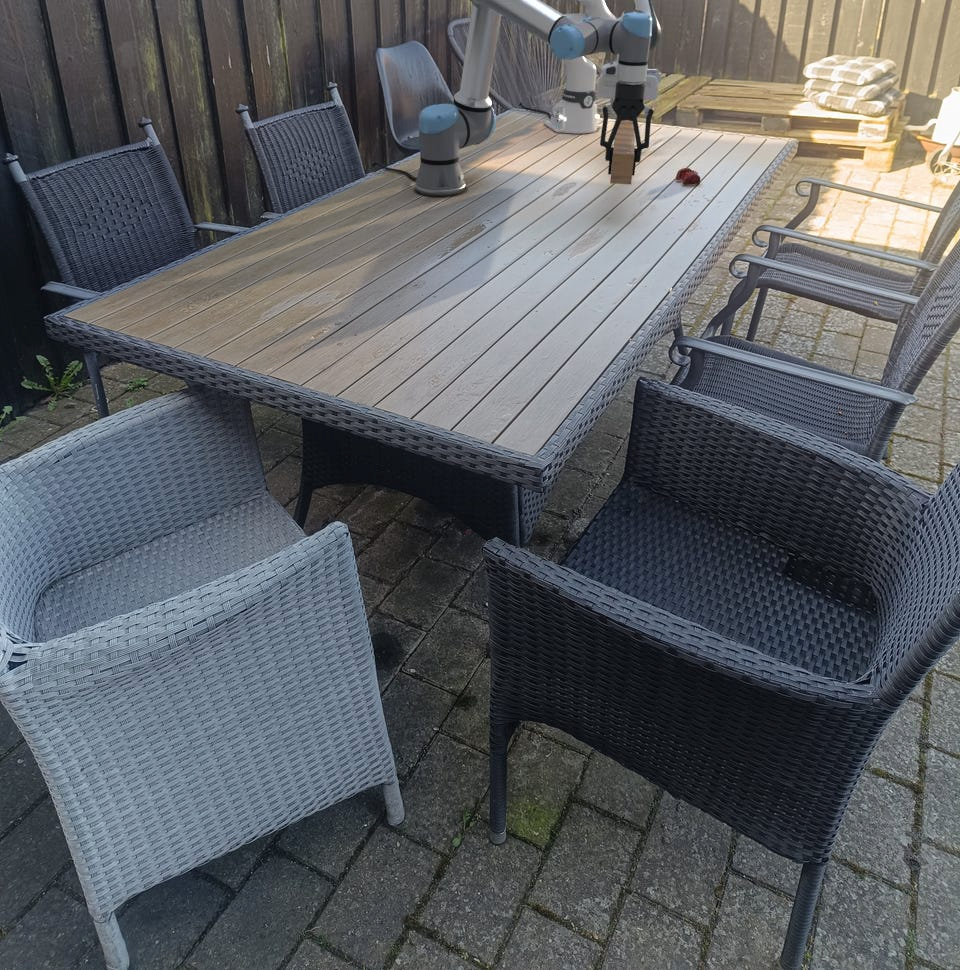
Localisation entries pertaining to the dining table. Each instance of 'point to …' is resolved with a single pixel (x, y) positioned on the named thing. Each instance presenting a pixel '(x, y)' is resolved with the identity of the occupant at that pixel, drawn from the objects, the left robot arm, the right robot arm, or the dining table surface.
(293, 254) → the dining table surface
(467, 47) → the left robot arm
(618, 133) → the beam
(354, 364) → the dining table surface
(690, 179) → the dark red lumpy piece
